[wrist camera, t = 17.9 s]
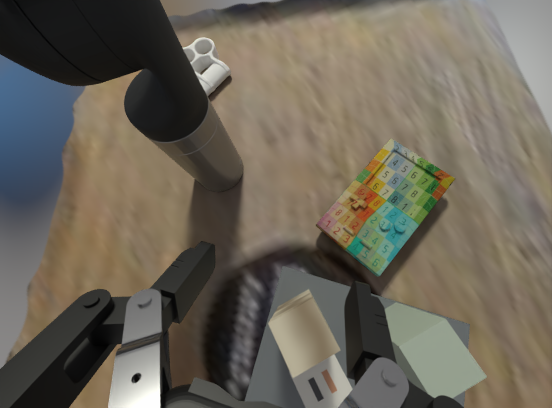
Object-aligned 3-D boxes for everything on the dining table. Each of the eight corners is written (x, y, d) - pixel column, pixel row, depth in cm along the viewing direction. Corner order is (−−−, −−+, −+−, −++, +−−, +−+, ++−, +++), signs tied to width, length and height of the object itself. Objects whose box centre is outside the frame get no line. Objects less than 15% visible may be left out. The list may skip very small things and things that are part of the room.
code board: (240, 417, 32) (238, 421, 31) (283, 266, 38) (282, 265, 37) (452, 514, 27) (457, 521, 26) (466, 323, 32) (470, 324, 32)
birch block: (295, 341, 34) (292, 378, 22) (278, 306, 35) (267, 323, 24) (327, 323, 34) (340, 350, 22) (308, 289, 35) (312, 298, 24)
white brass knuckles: (188, 122, 49) (147, 92, 53) (242, 68, 52) (199, 43, 55) (180, 112, 46) (137, 80, 49) (238, 54, 48) (193, 29, 52)
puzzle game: (316, 223, 35) (393, 135, 37) (314, 228, 39) (383, 149, 42) (381, 276, 31) (459, 176, 34) (371, 275, 36) (441, 187, 39)
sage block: (387, 358, 32) (436, 407, 20) (365, 320, 33) (398, 346, 22) (420, 339, 32) (487, 377, 21) (396, 302, 34) (445, 318, 22)
